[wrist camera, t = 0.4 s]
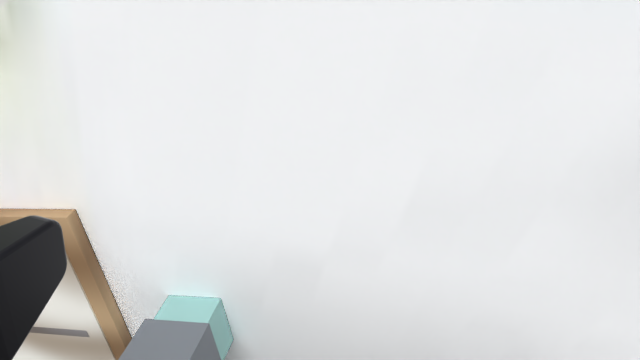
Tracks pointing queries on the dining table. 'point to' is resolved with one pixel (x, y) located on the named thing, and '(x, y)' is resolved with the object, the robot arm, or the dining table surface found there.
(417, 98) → the dining table surface
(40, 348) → the square wooden frame
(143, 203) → the dining table surface
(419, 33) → the dining table surface
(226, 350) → the grey and teal block
